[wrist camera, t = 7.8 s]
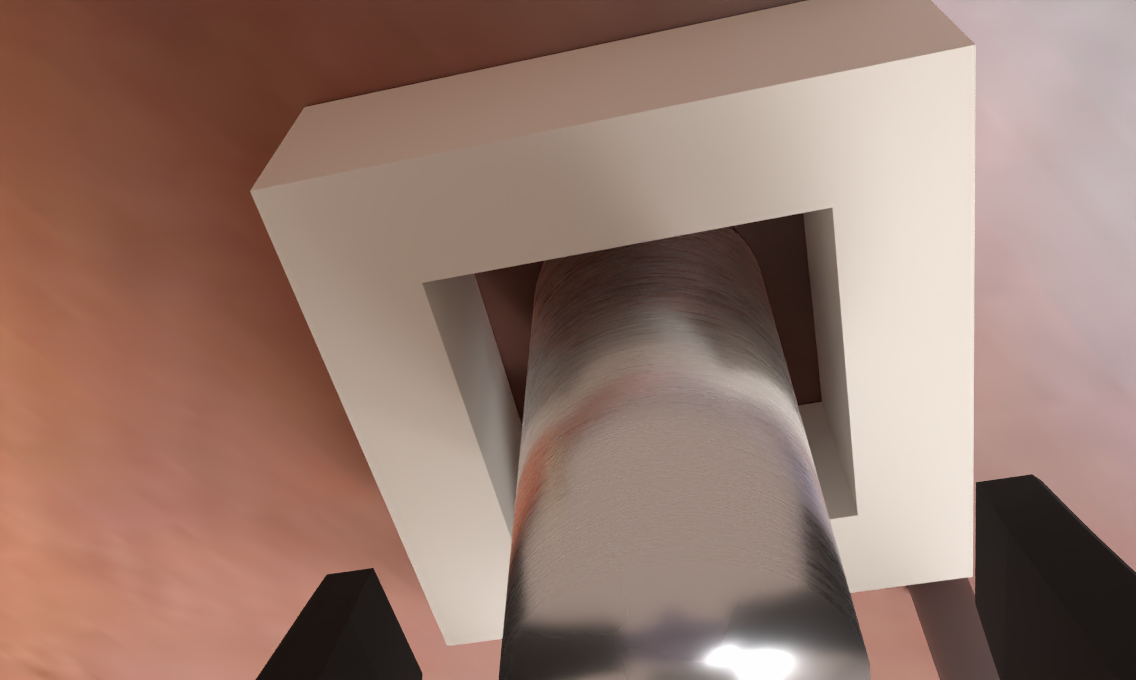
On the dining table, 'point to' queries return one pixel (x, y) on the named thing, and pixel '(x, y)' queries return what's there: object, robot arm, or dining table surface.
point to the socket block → (640, 214)
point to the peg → (669, 481)
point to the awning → (953, 630)
